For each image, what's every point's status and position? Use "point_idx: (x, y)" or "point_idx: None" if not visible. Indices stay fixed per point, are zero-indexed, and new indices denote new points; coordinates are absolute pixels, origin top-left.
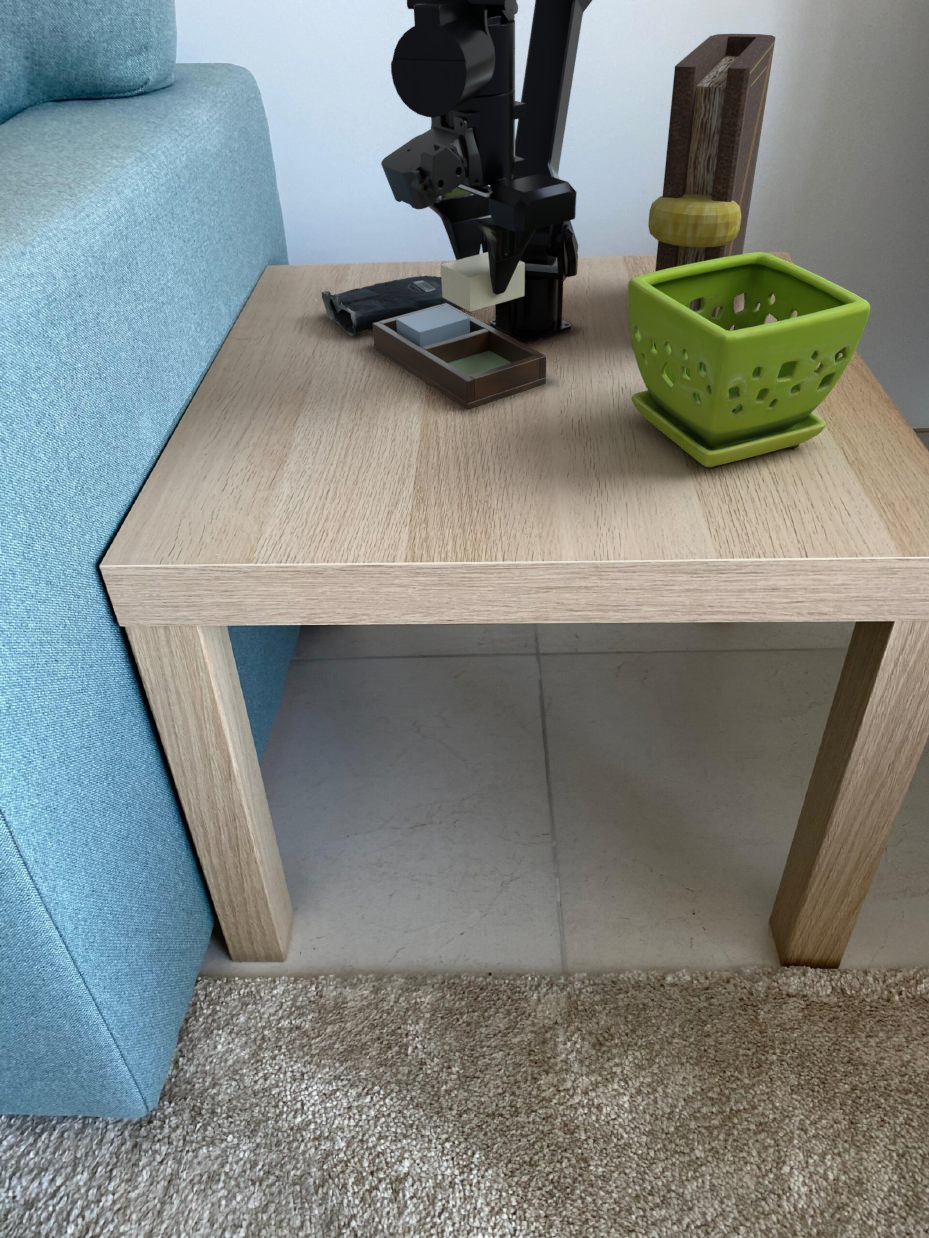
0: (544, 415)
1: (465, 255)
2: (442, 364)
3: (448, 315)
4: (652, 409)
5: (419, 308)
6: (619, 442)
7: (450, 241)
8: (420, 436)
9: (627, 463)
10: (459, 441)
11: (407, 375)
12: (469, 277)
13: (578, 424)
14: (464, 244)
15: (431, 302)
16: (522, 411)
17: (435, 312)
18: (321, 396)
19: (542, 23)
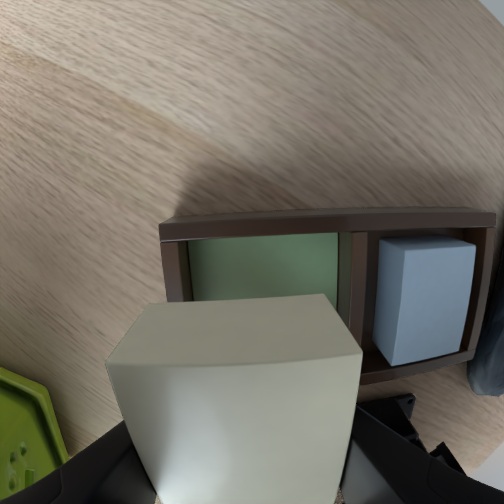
0: (100, 308)
1: (350, 459)
2: (262, 222)
3: (426, 338)
4: (6, 381)
5: (495, 319)
6: (17, 332)
7: (428, 459)
8: (136, 104)
9: None
10: (90, 152)
11: (362, 197)
12: (107, 366)
13: (63, 326)
14: (367, 490)
15: (492, 342)
16: (124, 289)
17: (450, 323)
18: (365, 42)
19: None
